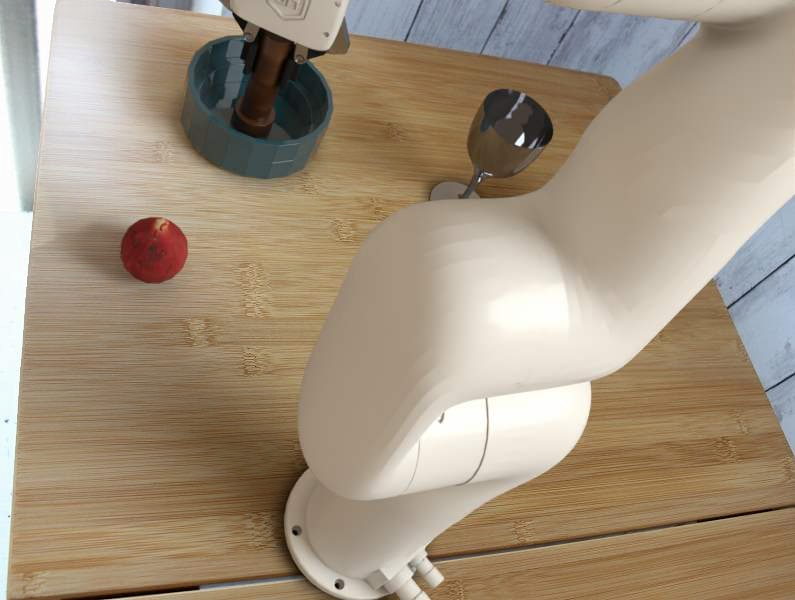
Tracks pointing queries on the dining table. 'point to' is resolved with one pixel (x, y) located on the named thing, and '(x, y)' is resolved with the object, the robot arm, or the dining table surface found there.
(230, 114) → the bowl
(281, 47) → the pestle
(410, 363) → the robot arm
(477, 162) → the wine glass
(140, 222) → the red round fruit
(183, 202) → the dining table surface
